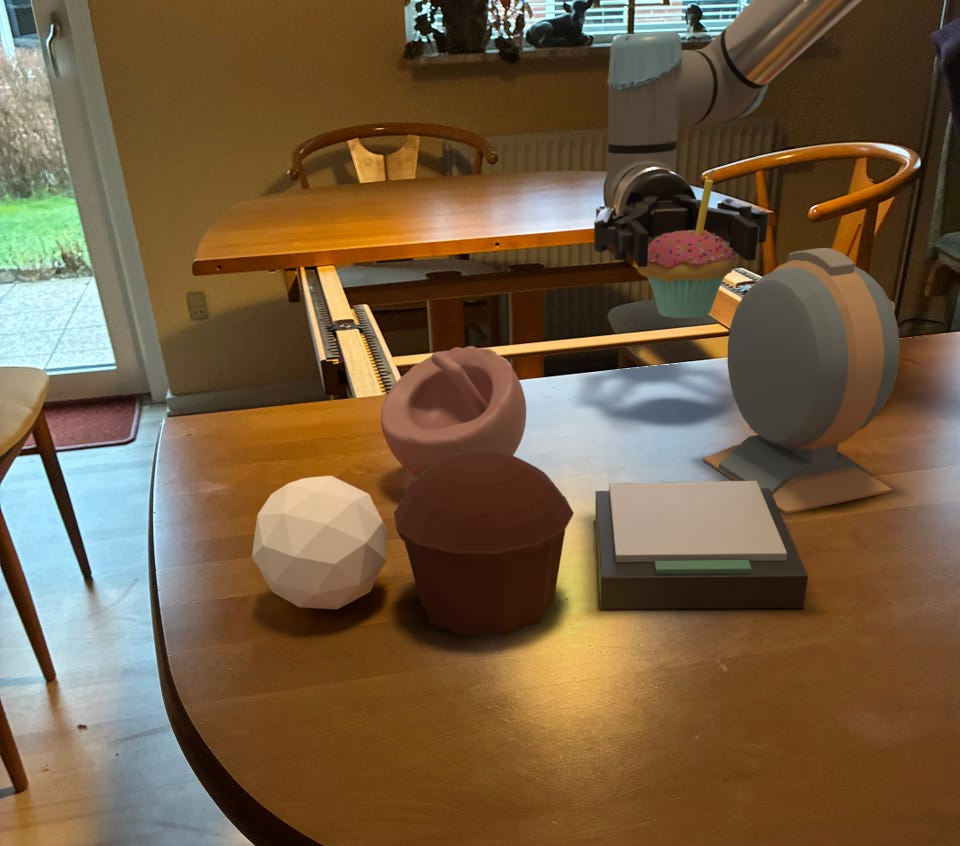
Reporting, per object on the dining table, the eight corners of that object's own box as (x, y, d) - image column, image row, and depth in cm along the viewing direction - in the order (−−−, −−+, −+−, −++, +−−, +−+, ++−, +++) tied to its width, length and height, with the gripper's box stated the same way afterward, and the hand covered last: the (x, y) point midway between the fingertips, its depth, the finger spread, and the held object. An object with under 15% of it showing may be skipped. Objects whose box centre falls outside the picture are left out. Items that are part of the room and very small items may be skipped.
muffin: (373, 593, 68) (356, 456, 62) (506, 548, 72) (501, 417, 67) (463, 669, 59) (452, 517, 54) (608, 612, 64) (611, 468, 59)
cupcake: (745, 306, 91) (756, 163, 85) (707, 327, 85) (717, 176, 79) (660, 298, 96) (665, 162, 89) (619, 319, 90) (622, 175, 83)
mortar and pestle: (359, 492, 83) (342, 356, 77) (445, 447, 91) (436, 321, 85) (473, 522, 77) (464, 377, 71) (554, 470, 85) (553, 337, 79)
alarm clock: (900, 496, 77) (945, 258, 68) (793, 519, 74) (825, 275, 65) (792, 438, 88) (818, 229, 79) (697, 456, 86) (712, 242, 77)
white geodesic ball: (425, 590, 64) (380, 538, 74) (364, 467, 59) (325, 430, 70) (306, 655, 63) (278, 594, 73) (235, 535, 58) (216, 488, 69)
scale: (766, 516, 75) (770, 480, 73) (803, 608, 63) (809, 567, 61) (595, 519, 76) (595, 483, 74) (600, 609, 64) (601, 569, 63)
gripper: (753, 239, 104) (818, 285, 85) (553, 251, 105) (572, 299, 85) (760, 161, 100) (829, 191, 81) (552, 174, 101) (572, 206, 81)
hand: (697, 246), depth 83 cm, fingers closed on cupcake, 8 cm apart
